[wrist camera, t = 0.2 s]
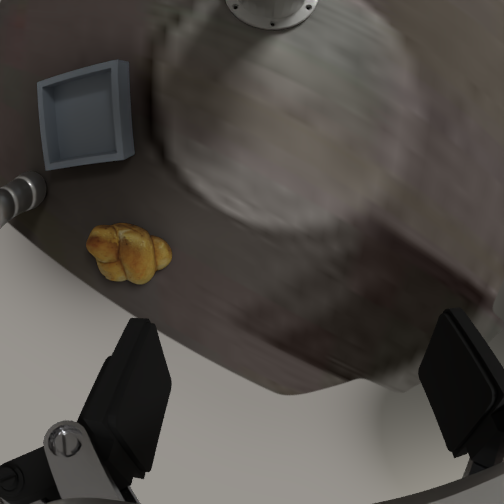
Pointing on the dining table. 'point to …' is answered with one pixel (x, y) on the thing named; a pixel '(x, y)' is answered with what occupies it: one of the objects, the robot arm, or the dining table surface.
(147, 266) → the bread roll
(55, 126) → the tray
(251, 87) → the dining table surface
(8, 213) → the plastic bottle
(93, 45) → the dining table surface
